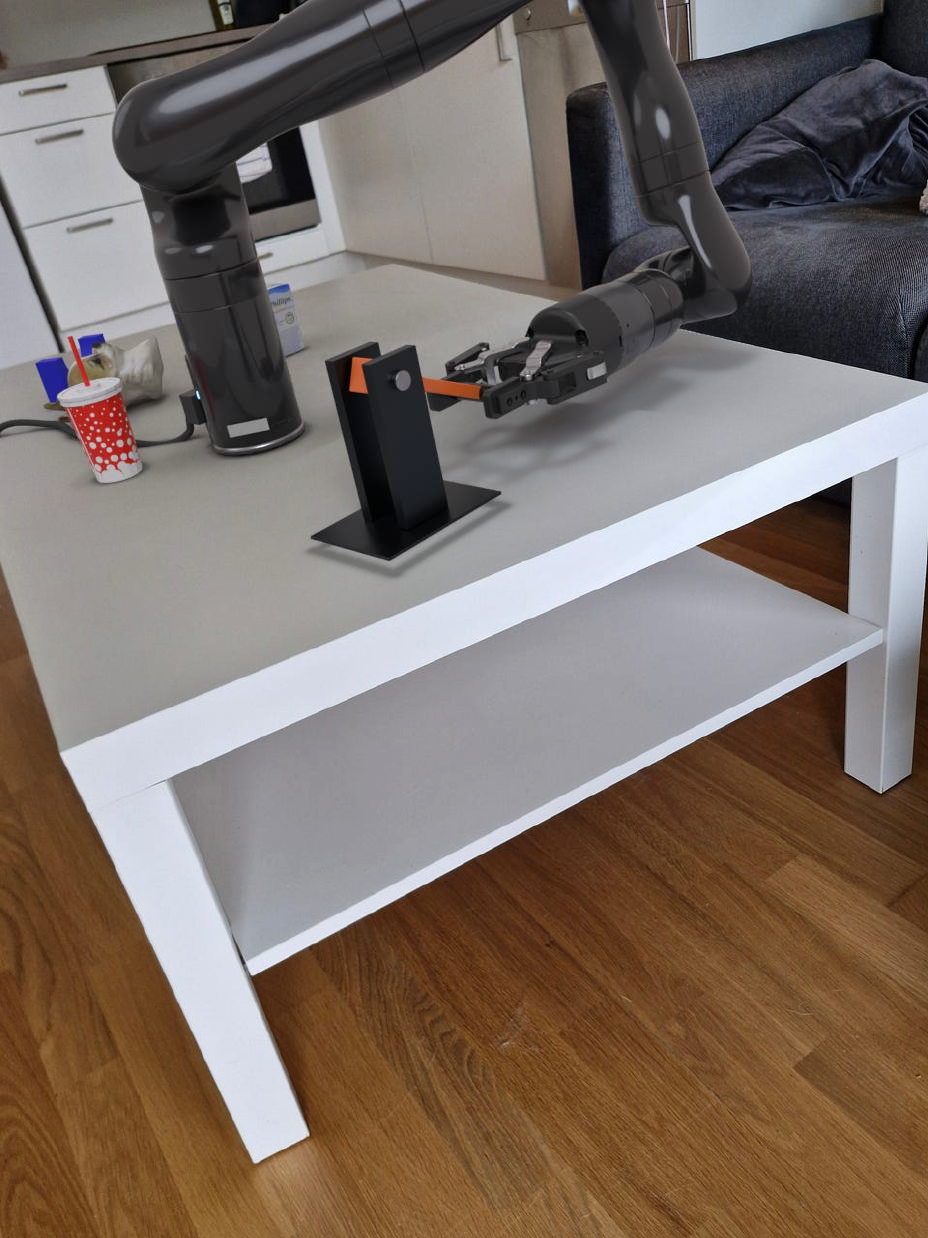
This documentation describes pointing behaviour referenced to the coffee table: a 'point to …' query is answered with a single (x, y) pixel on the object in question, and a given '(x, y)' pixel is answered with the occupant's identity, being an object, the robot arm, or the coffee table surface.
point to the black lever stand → (392, 457)
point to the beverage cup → (102, 425)
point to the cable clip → (62, 368)
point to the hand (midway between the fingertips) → (459, 403)
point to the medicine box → (285, 318)
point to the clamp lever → (454, 389)
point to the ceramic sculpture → (120, 371)
